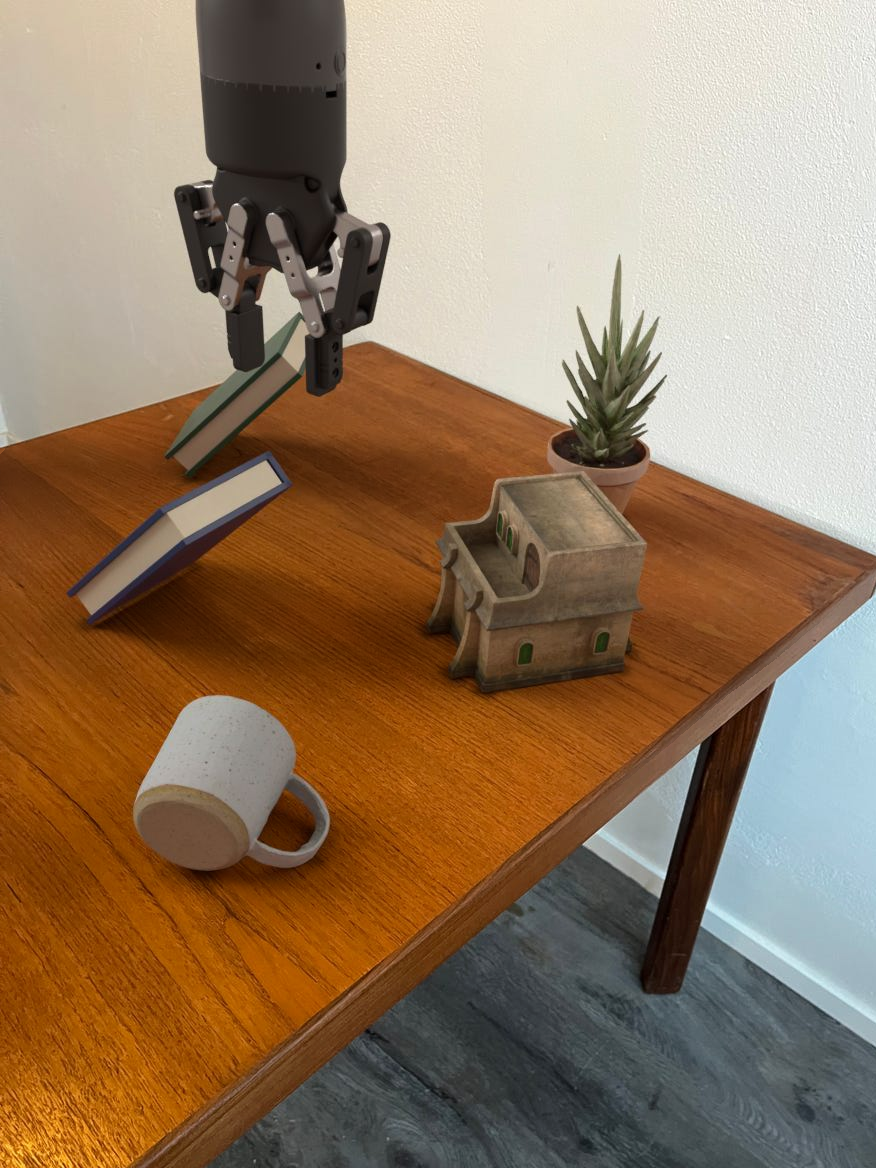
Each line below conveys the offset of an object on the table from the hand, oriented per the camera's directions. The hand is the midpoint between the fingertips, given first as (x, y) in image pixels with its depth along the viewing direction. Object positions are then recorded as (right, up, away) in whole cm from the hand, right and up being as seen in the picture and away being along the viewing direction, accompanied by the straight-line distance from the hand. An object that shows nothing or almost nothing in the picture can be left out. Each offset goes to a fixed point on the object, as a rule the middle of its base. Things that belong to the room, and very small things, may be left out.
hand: (285, 378), depth 62 cm
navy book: (-10, -10, +14) cm, 19 cm away
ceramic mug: (-3, -28, 0) cm, 28 cm away
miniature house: (+16, -16, +19) cm, 29 cm away
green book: (-10, +7, +36) cm, 38 cm away
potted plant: (+22, -4, +35) cm, 42 cm away
